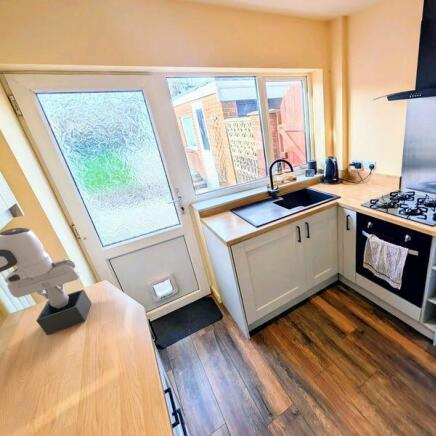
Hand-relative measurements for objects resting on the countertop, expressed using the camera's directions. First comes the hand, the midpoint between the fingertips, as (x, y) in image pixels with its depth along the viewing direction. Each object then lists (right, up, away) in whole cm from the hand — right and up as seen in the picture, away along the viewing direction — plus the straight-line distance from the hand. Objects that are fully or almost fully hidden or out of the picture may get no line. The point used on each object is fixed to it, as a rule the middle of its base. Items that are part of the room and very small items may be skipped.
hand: (56, 295), depth 99 cm
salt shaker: (+1, -5, +2) cm, 5 cm away
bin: (+1, -11, +5) cm, 13 cm away
